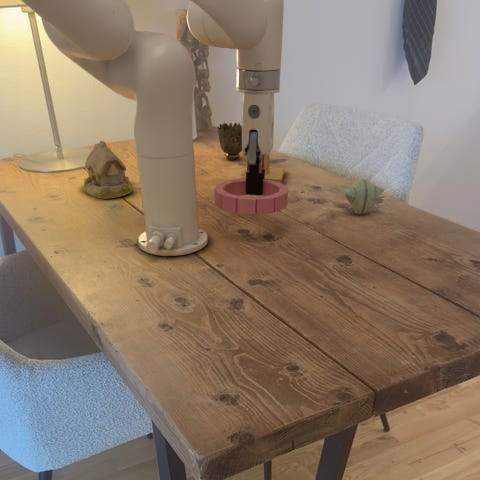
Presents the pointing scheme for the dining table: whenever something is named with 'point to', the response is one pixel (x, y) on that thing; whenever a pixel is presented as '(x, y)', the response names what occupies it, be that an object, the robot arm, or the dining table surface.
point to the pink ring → (232, 201)
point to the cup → (231, 140)
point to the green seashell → (362, 195)
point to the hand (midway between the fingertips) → (254, 192)
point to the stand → (271, 172)
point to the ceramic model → (105, 174)
